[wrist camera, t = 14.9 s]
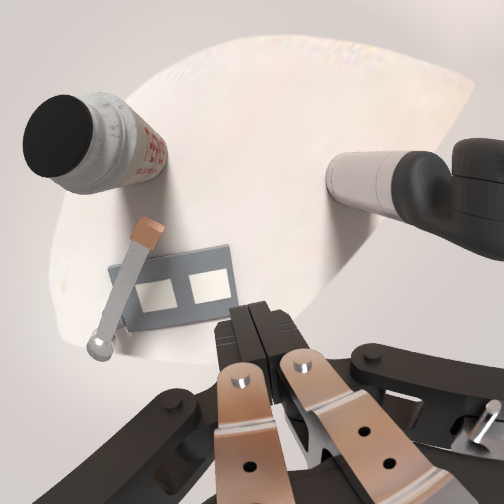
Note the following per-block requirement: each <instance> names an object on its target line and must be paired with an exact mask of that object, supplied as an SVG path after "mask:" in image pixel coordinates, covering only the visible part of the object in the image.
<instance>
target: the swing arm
mask: <svg viewBox="0 0 504 504" xmlns="http://www.w3.org/2000/svg"><path fill="white" fill-rule="evenodd" d="M164 228H165V226H164V225H162V224H160V223H158V222H156V221H154V220H152V219H150V218H148V217H147V216H145V215H143V216H142V217H141V218H140V219H139V220H138V222H137V224H136V226H135V228H134V230H133V232H132V234H131V237H130V239H132V240H133V241H132V243H131V245H130V247H129V250H128V252H127V254H126V257H125V259H124V261H123V264H122V266H121V268H120V271H119V273H118V276H117V278H116V280H115V283H114V286H113V288H112V291H111V293H110V296H109V299H108V301H107V304H106V307H105V309H104V312H103V315H102V318H101V321H100V324H99V327H98V328H97V329H95V330H94V332H93V334H92V336H91V337H90V339H89V341H88V343H87V351H88V353H89V355H90V356H91V357H92V358H94V359H95V360H97V361H102V362H104V361H108V360H109V359H110V358H111V356H112V353H113V350H114V347H115V345H116V337H115V335H114V333H115V330H116V328H117V325H118V323H119V320H120V318H121V315H122V313H123V310H124V308H125V305H126V303H127V301H128V298H129V296H130V293H131V291H132V289H133V287H134V284H135V282H136V280H137V278H138V275H139V273H140V271H141V269H142V267H143V264H144V262H145V260H146V258H147V256H148V254H149V252H150V250H154V248H155V246H156V244H157V242H158V240H159V238H160V236H161V234H162V232H163V230H164Z"/></svg>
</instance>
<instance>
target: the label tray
mask: <svg viewBox="0 0 504 504" xmlns="http://www.w3.org/2000/svg"><path fill="white" fill-rule="evenodd" d="M121 266H122V264H118V265H113V266H109V267H108V272H109V275H110V279H111V282H112V285H113V286H114V283H115V280H116V278H117V276H118V273H119V271H120V268H121ZM237 306H239V305H238V299H237V292H236V286H235V280H234V274H233V268H232V261H231V255H230V248H229V245H228V244H227V245H222V246H216V247H211V248H205V249H199V250H194V251H188V252H183V253H177V254H172V255H166V256H161V257H156V258H150V259H146V260H145V262H144V264H143V267H142V269H141V271H140V273H139V275H138V278H137V280H136V282H135V284H134V287H133V289H132V291H131V293H130V296H129V298H128V301H127V303H126V305H125V308H124V310H123V313H122V315H123V318H124V321H125V324H126V326H127V329H128V332H133V331H140V330H148V329H154V328H161V327H168V326H174V325H180V324H186V323H192V322H198V321H203V320H209V319H214V318H220V317H225V316H230V312H229V308H232V307H237Z"/></svg>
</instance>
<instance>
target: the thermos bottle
mask: <svg viewBox="0 0 504 504" xmlns="http://www.w3.org/2000/svg"><path fill="white" fill-rule="evenodd" d="M23 153H24V157H25V160H26V162H27V165H28V166H29V168H30V169H31V170H32V171H33V172H34V173H35V174H37V175H39V176H41V177H46V178H50V179H51V180H53V181H54V182H55V183H57V184H59V185H61V186H62V187H63V188H64V189H66V190H68V191H70V192H72V193H76V194H81V195H87V194H94V193H98V192H102V191H106V190H110V189H114V188H118V187H122V186H127V185H131V184H135V183H140V182H145V181H148V180H151V179H153V178H154V177H156V176H157V175H158V174H159V173H160V172H161V171H162V170H163V168H164V166H165V164H166V161H167V156H168V152H167V146H166V144H165V142H164V140H163V139H162V138H161V136H160V135H159V134H158V133H156V132H155V131H154V130H153V129H152V128H151V127H150V126H149V125H148V124H147V123H146V122H145V121H144V120H143V119H142V118H141V117H140V116H139V115H138V114H137V113H135V112H134V111H133V110H132V109H131V108H130V107H129V106H128V105H127V104H126V103H125V102H124V101H123V100H121V99H120V98H118V97H117V96H114V95H112V94H108V93H102V92H97V93H89V94H80V95H76V96H70V95H58V96H54V97H52V98H50V99H48V100H46V101H45V102H43V103H42V104H41V105H40V106H39V107H38V108H37V109H36V110H35V111H34V113H33V114H32V116H31V117H30V119H29V121H28V123H27V126H26V128H25V132H24V136H23Z"/></svg>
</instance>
